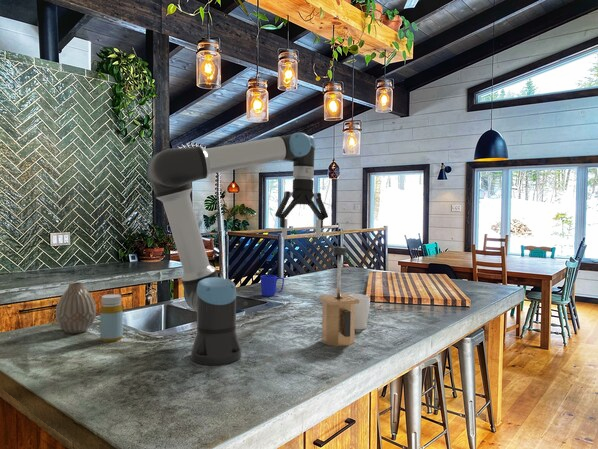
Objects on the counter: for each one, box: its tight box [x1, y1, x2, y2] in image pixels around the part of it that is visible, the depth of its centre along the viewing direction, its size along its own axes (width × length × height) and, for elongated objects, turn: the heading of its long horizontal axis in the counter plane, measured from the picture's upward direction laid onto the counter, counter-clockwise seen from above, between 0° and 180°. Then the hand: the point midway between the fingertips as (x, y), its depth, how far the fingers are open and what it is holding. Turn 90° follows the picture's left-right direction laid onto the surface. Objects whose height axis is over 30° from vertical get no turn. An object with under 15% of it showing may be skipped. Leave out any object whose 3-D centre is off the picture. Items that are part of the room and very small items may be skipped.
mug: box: [259, 274, 285, 297], centre depth 227 cm, size 8×12×10 cm
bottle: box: [99, 293, 124, 343], centre depth 151 cm, size 7×7×15 cm
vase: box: [55, 281, 97, 334], centre depth 161 cm, size 13×13×18 cm
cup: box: [348, 293, 371, 331], centre depth 170 cm, size 9×9×12 cm
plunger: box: [332, 246, 347, 299], centre depth 152 cm, size 8×8×20 cm
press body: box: [318, 293, 359, 347], centre depth 151 cm, size 10×13×15 cm
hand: (301, 237), depth 162 cm, fingers open, 13 cm apart
